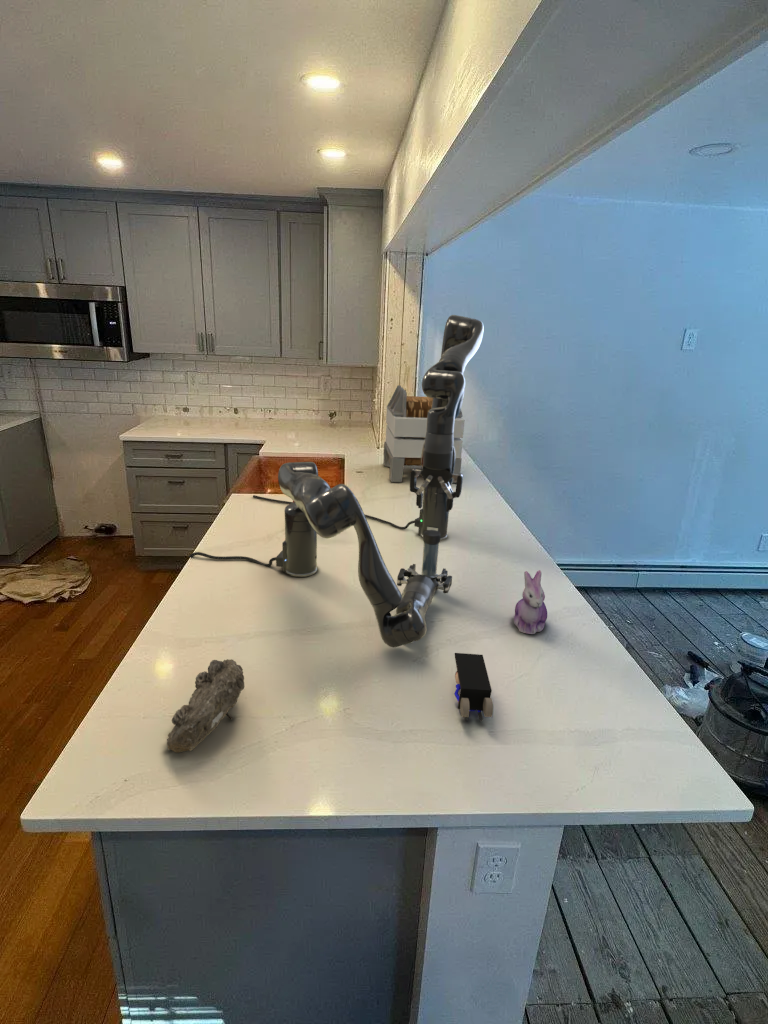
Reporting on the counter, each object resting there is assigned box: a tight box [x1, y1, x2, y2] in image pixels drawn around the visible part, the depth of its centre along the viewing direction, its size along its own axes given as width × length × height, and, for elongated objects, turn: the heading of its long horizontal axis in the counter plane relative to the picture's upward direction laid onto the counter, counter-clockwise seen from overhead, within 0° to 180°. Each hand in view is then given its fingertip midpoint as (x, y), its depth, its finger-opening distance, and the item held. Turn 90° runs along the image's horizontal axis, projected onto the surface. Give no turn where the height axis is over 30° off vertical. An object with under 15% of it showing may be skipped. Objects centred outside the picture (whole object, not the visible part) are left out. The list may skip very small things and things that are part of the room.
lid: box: [422, 530, 441, 544], centre depth 155 cm, size 5×5×2 cm
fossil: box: [166, 658, 245, 754], centre depth 106 cm, size 22×10×15 cm
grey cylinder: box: [421, 541, 440, 576], centre depth 158 cm, size 4×4×17 cm
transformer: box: [383, 384, 465, 484], centre depth 268 cm, size 34×33×41 cm
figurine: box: [513, 569, 548, 635], centre depth 142 cm, size 9×10×15 cm
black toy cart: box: [454, 652, 494, 722], centre depth 114 cm, size 7×8×15 cm
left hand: (429, 569), depth 158 cm, fingers open, 8 cm apart
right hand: (433, 509), depth 152 cm, fingers open, 7 cm apart
